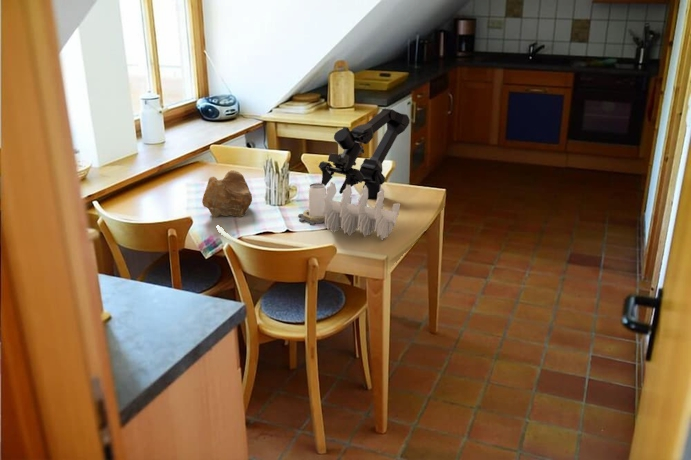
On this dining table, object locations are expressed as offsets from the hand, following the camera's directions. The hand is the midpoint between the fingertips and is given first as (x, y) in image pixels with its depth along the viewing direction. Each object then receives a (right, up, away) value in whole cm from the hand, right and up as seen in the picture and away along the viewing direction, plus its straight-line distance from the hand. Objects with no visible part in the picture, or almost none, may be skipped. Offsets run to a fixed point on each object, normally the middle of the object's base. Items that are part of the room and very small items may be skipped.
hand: (330, 190), depth 245 cm
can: (-5, -10, -3) cm, 11 cm away
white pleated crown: (+11, -17, -17) cm, 26 cm away
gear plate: (-5, -10, -2) cm, 12 cm away
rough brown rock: (-37, -8, +3) cm, 39 cm away
